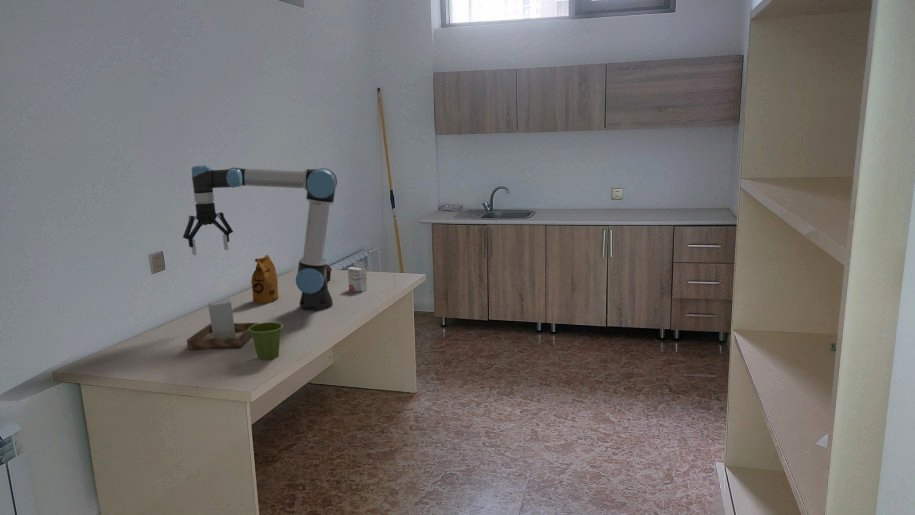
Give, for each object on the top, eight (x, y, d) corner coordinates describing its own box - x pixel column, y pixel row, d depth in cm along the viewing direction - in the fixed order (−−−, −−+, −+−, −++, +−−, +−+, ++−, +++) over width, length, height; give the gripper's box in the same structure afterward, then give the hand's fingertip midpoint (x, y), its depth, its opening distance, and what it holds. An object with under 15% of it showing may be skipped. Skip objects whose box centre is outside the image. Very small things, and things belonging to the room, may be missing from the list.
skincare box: (234, 334, 243) (230, 298, 240) (236, 338, 237) (232, 301, 234) (211, 337, 239) (207, 301, 236) (213, 342, 234) (209, 305, 231)
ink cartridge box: (348, 290, 312) (346, 262, 309) (355, 288, 316) (353, 260, 313) (361, 292, 307) (359, 263, 304) (367, 289, 311) (365, 261, 308)
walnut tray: (258, 331, 248) (258, 322, 247) (240, 348, 228) (239, 338, 228) (210, 332, 249) (209, 323, 248) (188, 349, 229) (186, 339, 228)
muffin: (327, 284, 326) (325, 266, 324) (308, 284, 328) (306, 266, 327) (335, 279, 338) (334, 261, 336) (317, 278, 340) (316, 261, 338)
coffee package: (249, 303, 292) (245, 259, 288) (264, 297, 304) (260, 254, 299) (268, 304, 289) (263, 259, 285) (282, 297, 301) (278, 254, 297)
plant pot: (266, 364, 211) (263, 334, 209) (244, 359, 217) (241, 329, 215) (292, 354, 221) (290, 324, 219) (270, 349, 227) (267, 320, 225)
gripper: (230, 199, 266) (235, 246, 271) (170, 205, 250) (177, 255, 254) (237, 200, 261) (242, 248, 265) (177, 206, 244) (183, 257, 249)
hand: (210, 252), depth 260 cm, fingers open, 13 cm apart
